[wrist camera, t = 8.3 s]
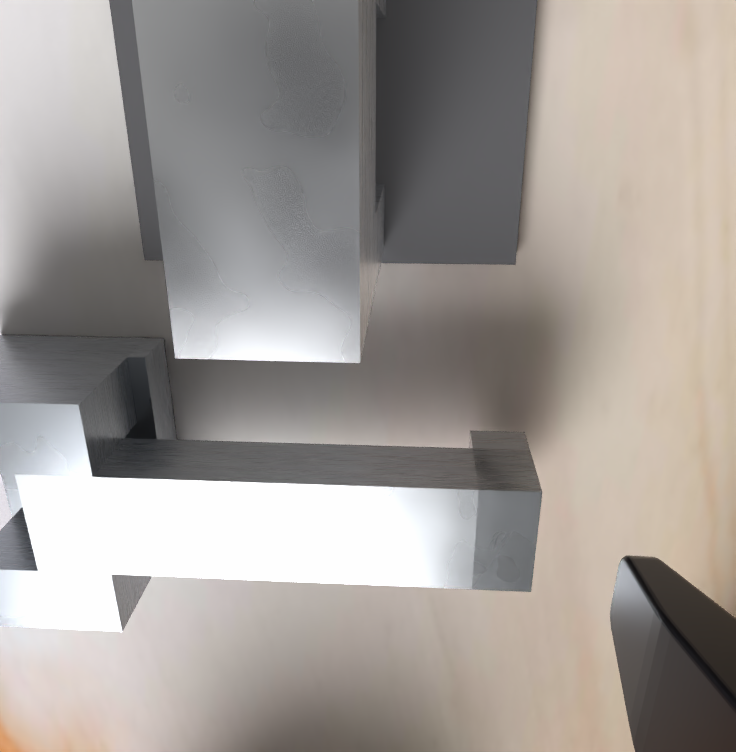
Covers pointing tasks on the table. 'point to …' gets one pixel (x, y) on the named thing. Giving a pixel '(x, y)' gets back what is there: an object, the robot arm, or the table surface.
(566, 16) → the table surface
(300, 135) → the brushed aluminum pillar
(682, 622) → the robot arm
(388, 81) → the mat
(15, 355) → the vise
